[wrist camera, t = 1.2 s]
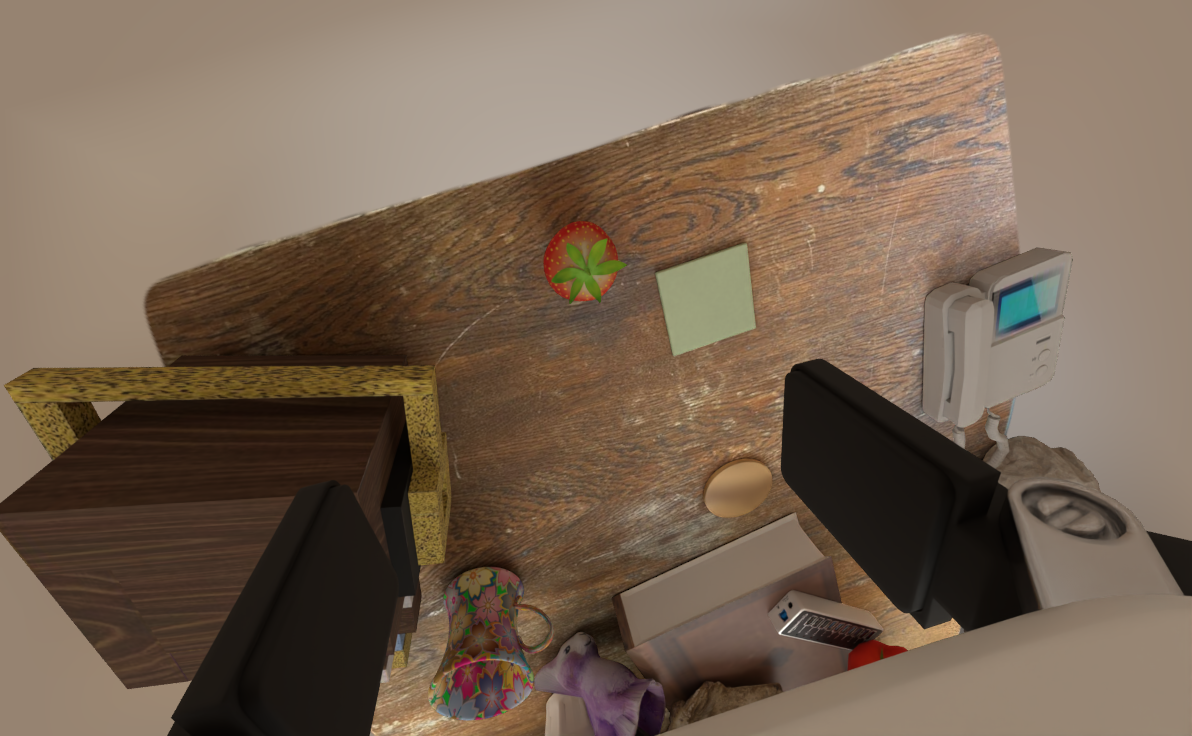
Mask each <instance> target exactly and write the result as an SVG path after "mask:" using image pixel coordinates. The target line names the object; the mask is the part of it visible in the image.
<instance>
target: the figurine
mask: <svg viewBox="0 0 1192 736" xmlns="http://www.w3.org/2000/svg"><path fill="white" fill-rule="evenodd" d="M534 684H535V685H534V686H535V689H536V690H538V691H544V692H550V693H556V694H562V695H568V696H575V697H581V698H583V699H584V702H585V705H586V709H587V713H588V716H589V719H590V722H591V725H592V727H593V730H594V734H595V736H656V735H659V734H660V730H661V726H662V722H663V719H664V715H665V708H666V703H665V696H664V691H663V688H662V685H661V684H660V683H658V682H655V680H653V679H638V678H637V677H636V676H635V675H634V673H633V672H632V671H631V670H629V669H628V668H627V667H626V666H624V665H623V664H620V663H618V662H615V661H611V660H607V659H603V658H601V657H600V656H599V654H598V649H597V645H596V643H595V641H594V639H593V638H592V637H591V636H590V635H587V634H586V633H584V632H578V633H576V634H575V635H574V636H573V637H571V638H570V639H569V640H567V641H566V642H565V643H564V644H563V645H562V646H561V648H560V651H559V653H558V655H557V656H556V657H555V658H554V659H553V660H552V661H551V662H549V663H547V664H546V665H544V666H543V667H542V668H541V669H540V670H539V671H538V672H537V674H536V676H535V681H534Z"/></svg>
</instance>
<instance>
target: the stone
mask: <svg viewBox="0 0 1192 736" xmlns="http://www.w3.org/2000/svg"><path fill="white" fill-rule="evenodd" d="M1008 444H1009V450H1010V451H1009V452H1008V454H1007V455H1006V457H1005V458H1004V460H1003V461H1002V462H1001V464H1000V465H999V466H998V467H996V468H995V469H997V470H998V471H1000V472H1001V475H1000V477H999V480H998V483H1000V484H1001V485H1003V486H1004V487H1006V488H1007V489H1009V488H1010V487H1011V486H1012V484H1013V483H1014V482H1016V481H1019V480H1021V479H1024V478H1031V477H1048V478H1058V479H1063V480H1067V481H1071V482H1076V483H1079V484H1082V485H1084V486H1087V487H1090V488H1093V489H1095V490H1098V491H1100V488H1099V483H1098V481H1097V480H1096V478H1095V477H1094V475H1093V474H1092V473H1091V471H1090V470H1088V469H1087V468H1086V467H1085V465H1084V463H1083V462H1082V461H1080V460H1079V459H1077V457H1076V456H1075V454H1074V453H1073V452H1071V451H1069V450H1068V449H1066V448H1062V447H1059V448H1050V447H1048V446H1047V445H1045V444H1044V443H1042V442H1040V441H1038V440H1037V439H1035V438H1032V437H1026V436H1017V437H1013V438H1010V439H1008ZM997 448H998V447H997V444H995V445H994V446H993V447H992V448H991V449H990V450H989V451H988V452H987V453H986V454H985V457H984V459H983V461H984V462H987V461H988V460H989V459H990V458H991V457H992V455H993V454H994V452H995V451H996V449H997ZM1100 492H1101V491H1100Z"/></svg>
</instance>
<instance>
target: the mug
mask: <svg viewBox="0 0 1192 736" xmlns="http://www.w3.org/2000/svg"><path fill="white" fill-rule="evenodd" d="M523 596H524V587H523V584H522V582H521V580H520V579H519V578H518V577H517V576H516V575H515V574H514V573H512V572H510V571H508V570H506V569H503V568H498V567H481V568H476V569H472V570H469V571H467V572H464V573H462V574H461V575H459V576H458V577H456V578H455V579H454V580H453V581H452V582H451V583H450V584H449V585H448V587H447V588H446V591H445V593H444V598H443V601H444V606H445V608H446V610H447V613H448V616H449V638H448V643H447V647H446V651H445V654H444V657H443V660H442V662H441V665H440V667H439V669H438V671H437V673H436V675H435V677H434V679H433V681H432V683H431V685H430V687H429V691H428V699H429V703H430V705H431V706H432V708H433V709H434V710H435V711H437V712H438V713H439V714H441V715H443V716H446V717H449V718H452V719H458V720H480V719H486V718H490V717H494V716H497V715H500V714H503V713H505V712H507V711H509V710H511V709H513V708H515V707H516V706H518V705H519V704H520V703H522V702H523V701H524V700H525V699H526V698H527V697H528V695H529V694H530V692H531V691H532V688H533V685H534V674H533V671H532V669H531V668H530V666H529V664H528V662H527V660H526V658H525V656H524V653H523V651H522V649H523V650H524V651H526V652H528V653H537V652H540V651H542V650H544V649H545V648H546V647H547V646H548V645H549V644H550V643H551V641H552V639H553V636H554V627H553V624H552V622H551V620H550V618H549V617H548V616H547V615H546V614H545V613H544V612H543V611H542V610H540V609H538V608H536V607H534V606H531V605H526V604H520V603H521V601H522V599H523ZM518 610H527V611H532V612H535V613H537V614H539V615H540V616H542V617H543V618H544V619H545V620H546V622H547V624H548V627H549V632H548V635H547V637H546V639H545V640H544V641H543V642H542V643H541V644H539V645H537V646H534V647H529V646H526V645H525V644H524V643H523V641H522V639H521V637H520V636H518V628H517V616H518Z"/></svg>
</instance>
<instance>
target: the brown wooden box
mask: <svg viewBox="0 0 1192 736" xmlns="http://www.w3.org/2000/svg"><path fill="white" fill-rule="evenodd" d="M4 387H5V388H6V390H7V391H8V393H9V394H10V396H11V397H12V399H13V400H14V402H15V403H16V405H17V406H18V408H19V409H20V411H21V413H22V414H23V415H24V417H25V419H26V420H27V422H28V423H29V425H30V426H31V428H32V429H33V431H34V433H35V434H36V436H37V437H38V439H39V440H40V442H41V443H42V445H43V446H44V448H45V450H46V451H47V452H48V454H49V456H50V457H51V459H52V460H53V461H52V462H50V463H49V464H48V465H47V466H45V467H44V468H43V469H42V470H40V471H39V472H38V473H37V474H36V475H34V476H33V477H32V478H31V479H30V480H28V481H27V482H26V483H25V484H23V485H22V486H21V487H20V488H18V489H17V490H16V491H15V492H13V493H12V494H11V495H10V496H9V497H7V498H6V499H5V500H4V501H3V502H1V503H0V532H1V533H2V535H3V536H4V537H5V538H6V540H7V541H8V542H9V543H10V545H11V546H12V547H13V548H14V549H15V551H16V552H17V553H18V554H19V556H20V557H21V558H22V559H23V561H24V562H25V563H26V564H27V566H28V567H29V568H30V569H31V570H32V572H33V573H34V574H35V575H36V577H37V578H38V579H39V580H40V581H41V583H42V584H43V585H44V586H45V588H46V589H47V590H48V591H49V593H50V594H51V595H52V596H53V597H54V599H55V600H56V601H57V602H58V604H59V605H60V606H61V608H62V609H63V610H64V611H65V612H66V614H67V615H68V616H69V617H70V618H71V620H72V621H73V622H74V624H75V625H76V626H77V627H78V629H80V631H81V632H82V633H83V635H84V636H85V637H86V638H87V640H88V641H89V642H90V643H91V644H92V646H93V647H94V648H95V650H96V651H97V652H98V653H99V654H100V656H101V657H102V658H103V659H104V661H105V662H106V663H107V664H108V666H109V667H110V668H111V669H112V670H113V672H114V673H115V674H116V675H117V677H118V678H119V679H120V680H121V682H122V683H123V684H124V685H125V687H126V688H127V689H132V688H140V687H148V686H156V685H164V684H171V683H179V682H186V681H191V680H193V678H194V676H195V674H196V672H197V671H198V669H199V667H200V665H201V664H202V662H203V660H204V658H205V656H206V655H207V653H208V651H209V649H210V647H211V646H212V644H213V642H214V640H215V638H216V637H217V635H218V633H219V631H220V630H221V628H222V626H223V624H224V622H225V621H226V619H227V617H228V615H229V613H230V612H231V610H232V608H233V606H234V604H235V603H236V601H237V599H238V597H239V596H240V594H241V592H242V590H243V588H244V587H245V585H246V583H247V581H248V579H249V578H250V576H251V574H252V572H253V571H254V569H255V567H256V565H257V563H258V562H259V560H260V558H261V556H262V554H263V553H264V551H265V549H266V547H267V545H268V544H269V542H270V540H271V538H272V537H273V535H274V533H275V531H276V529H277V528H278V526H279V524H280V522H281V520H282V519H283V517H284V515H285V513H286V511H287V510H288V508H289V506H290V504H291V503H292V501H293V499H294V497H295V495H296V494H297V492H298V491H299V490H300V489H301V488H303V487H306V486H310V485H314V484H318V483H322V482H326V481H330V480H336V481H337V482H338V483H339V484H340V485H344V484H345V485H348V486H349V487H350V488H351V490H352V492H353V493H354V495H355V497H356V499H357V501H358V503H359V505H360V507H361V508H362V510H363V512H364V514H365V516H366V518H367V520H368V521H369V523H370V525H371V527H372V529H373V531H374V533H375V534H376V536H377V538H378V540H379V542H380V544H381V546H382V548H383V549H384V551H385V553H386V555H387V557H388V559H389V561H390V562H391V564H392V566H393V568H394V570H395V572H396V574H397V576H398V581H399V594H398V599H397V604H396V609H395V614H394V619H393V623H392V628H391V633H390V638H389V643H388V648H387V653H386V658H385V662H384V667H383V672H382V677H381V682H380V683H384V682H389V679H390V674H391V669H392V668H399V667H406V666H407V663H408V657H409V650H410V644H411V638H412V633H413V632H416V629H417V622H418V616H419V609H420V603H421V589H420V582H419V572H420V566H421V565H428V564H438V563H444V559H445V550H446V542H447V533H448V525H449V516H450V508H451V499H452V498H451V487H450V475H449V463H448V451H447V439H446V432H441V426H440V415H439V404H438V393H437V382H436V371H435V365H421V366H408V362H407V355H254V356H233V355H224V356H181V357H180V358H178V359H177V360H176V361H175V362H173V363H172V364H171V365H170V366H168V367H128V368H127V367H122V368H121V367H119V368H33V369H31V370H29V371H28V372H26V373H24V374H22V375H21V376H19V377H17V378H15V379H14V380H12V381H10V382H9V383H7V384H5V385H4ZM103 401H125V402H124V403H123V404H122V405H120V406H119V407H118V408H117V409H116V410H114V411H113V412H112V413H111V414H110V415H108V416H107V417H106V418H104V419H103V420H102V421H101V419H100V418H99V416H98V414H97V412H96V410H95V409H94V407H93V405H92V403H91V402H103Z"/></svg>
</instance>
